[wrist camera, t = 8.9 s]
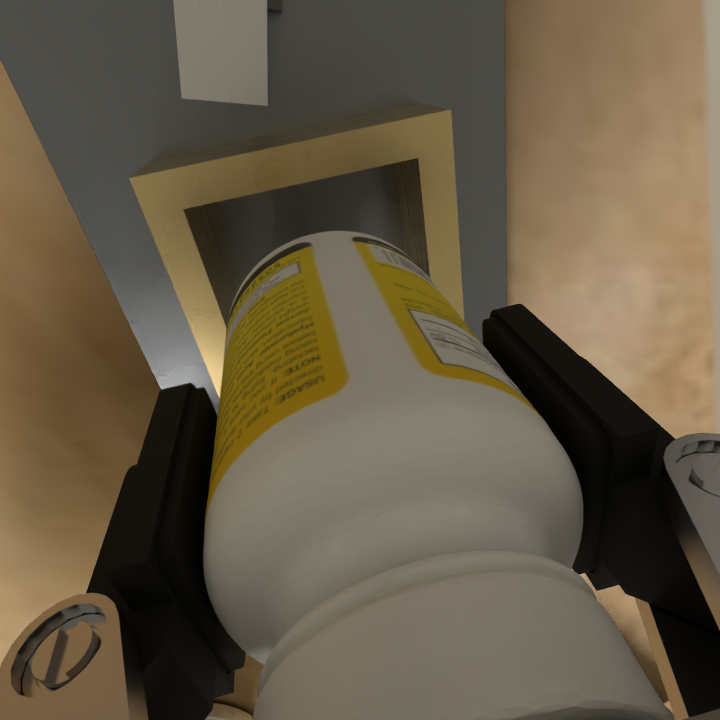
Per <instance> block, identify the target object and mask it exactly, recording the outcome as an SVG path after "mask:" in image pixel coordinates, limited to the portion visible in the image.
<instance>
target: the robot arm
mask: <svg viewBox="0 0 720 720" xmlns="http://www.w3.org/2000/svg"><path fill="white" fill-rule="evenodd" d="M482 336H483V346H484V347H485V348H486V349H487V350H488V351H489V353H490V354H491V355H492V357H493V358H494V359H495V360H496V361H497V363H498V364H499V365H500V367H501V368H502V369H503V370H504V372H505V373H506V374H507V376H508V377H509V378H510V379H511V380H512V381H513V383H514V384H515V385H516V386H517V387H518V388H519V390H520V391H521V392H522V394H523V395H524V396H525V398H526V399H527V400H528V401H529V402H530V403H531V405H532V406H533V408H534V409H535V410H536V411H537V412H538V413H539V414H540V416H541V417H542V418H543V419H544V420H545V422H546V423H547V425H548V426H549V428H550V430H551V431H552V432H553V434H554V435H555V437H556V438H557V440H558V441H559V443H560V444H561V445H562V447H563V448H564V450H565V451H566V453H567V454H568V456H569V458H570V460H571V462H572V464H573V466H574V468H575V471H576V474H577V477H578V480H579V483H580V486H581V491H582V497H583V529H582V536H581V541H580V545H579V549H578V552H577V555H576V558H575V561H574V563H573V566H572V569H573V570H574V571H575V572H576V573H577V574H582V573H586V575H587V577H588V578H589V580H590V581H591V583H592V584H593V586H594V587H595V589H596V590H597V591H598V590H601V589H605V588H609V587H612V586H616V585H620V587H621V588H622V589H623V591H624V592H625V594H628V595H630V596H633V597H635V599H636V603H637V606H638V609H639V612H640V615H641V618H642V621H643V624H644V627H645V630H646V633H647V636H648V639H649V642H650V645H651V648H652V651H653V654H654V657H655V660H656V663H657V666H658V669H659V672H660V675H661V678H662V681H663V684H664V687H665V690H666V693H667V696H668V699H669V702H670V705H671V708H672V711H673V714H674V717H675V720H720V434H711V433H697V434H690V435H685V436H683V437H680V438H678V439H675V438H674V437H672V436H671V435H670V434H669V433H668V432H667V431H666V430H665V429H663V428H662V427H661V426H660V425H659V424H658V423H657V422H656V421H654V420H653V419H652V418H651V417H650V416H649V415H648V414H647V413H645V412H644V411H643V410H642V409H641V408H640V407H639V406H638V405H637V404H635V403H634V402H633V401H632V400H631V399H630V398H629V397H628V396H626V395H625V394H624V393H623V392H622V391H621V390H620V389H619V388H617V387H616V386H615V385H614V384H613V383H612V382H611V381H610V380H608V379H607V378H606V377H605V376H604V375H603V374H602V373H601V372H599V371H598V370H597V369H596V368H595V367H594V366H593V365H592V364H590V363H589V362H588V361H587V360H586V359H584V358H583V357H581V356H579V355H578V354H577V353H576V352H575V351H574V350H572V349H571V348H570V347H569V346H568V345H567V344H566V343H565V342H564V341H562V340H561V339H560V338H559V337H558V336H557V335H556V334H555V333H553V332H552V331H551V330H550V329H549V328H548V327H547V326H546V325H545V324H543V323H542V322H541V321H540V320H539V319H538V318H537V317H536V316H535V315H533V314H532V313H531V312H530V311H529V310H528V309H527V308H526V307H525V306H523V305H522V304H516V305H512V306H507V307H503V308H499V309H495V310H492V311H491V313H490V318H488V319H484V320H483V323H482ZM216 425H217V414H216V411H215V409H214V407H213V404H212V402H211V400H210V397H209V395H208V393H207V391H206V389H205V388H204V387H202V388H198V389H196V387H195V386H194V385H193V384H192V383H187V384H183V385H179V386H174V387H170V388H166V389H162V390H161V391H160V393H159V396H158V399H157V402H156V405H155V408H154V412H153V415H152V418H151V421H150V424H149V427H148V431H147V434H146V437H145V440H144V443H143V447H142V450H141V453H140V456H139V459H138V463H137V465H133V466H132V467H131V468H129V469H128V471H127V473H126V475H125V478H124V481H123V484H122V487H121V490H120V493H119V496H118V499H117V502H116V505H115V508H114V511H113V514H112V517H111V520H110V523H109V526H108V529H107V532H106V535H105V538H104V541H103V544H102V547H101V550H100V553H99V556H98V559H97V562H96V565H95V568H94V571H93V574H92V577H91V580H90V583H89V586H88V589H87V592H86V594H79V595H75V596H73V597H70V598H68V599H65V600H63V601H60V602H59V603H57V604H56V605H54V606H52V607H51V608H49V609H48V610H46V611H44V612H43V613H42V614H41V615H39V616H38V617H37V618H36V619H35V620H34V621H33V622H32V623H30V624H29V625H28V626H27V627H26V628H25V629H24V631H23V632H22V633H21V634H20V635H19V637H18V638H17V639H16V640H15V641H14V643H13V644H12V645H11V647H10V649H9V651H8V653H7V654H6V656H5V658H4V660H3V661H2V663H1V667H0V720H253V717H252V716H251V715H250V714H249V713H247V712H245V711H242V710H240V709H238V708H235V707H232V706H228V705H225V704H218V703H213V701H214V698H215V697H218V696H222V695H225V694H229V693H233V692H234V674H235V669H239V668H242V667H243V666H244V662H245V651H244V650H242V649H241V648H240V646H239V645H238V644H237V643H236V642H235V641H234V640H233V639H232V638H231V637H230V636H229V634H228V633H227V631H226V630H225V628H224V627H223V625H222V623H221V622H220V620H219V618H218V616H217V615H216V613H215V611H214V608H213V606H212V604H211V601H210V599H209V595H208V592H207V588H206V583H205V578H204V568H203V548H204V528H205V513H206V507H207V500H208V494H209V482H210V475H211V469H212V459H213V453H214V441H215V434H216Z"/></svg>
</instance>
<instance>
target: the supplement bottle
mask: <svg viewBox="0 0 720 720" xmlns="http://www.w3.org/2000/svg"><path fill="white" fill-rule="evenodd" d="M582 529H583V497H582V491H581V486H580V483H579V480H578V477H577V474H576V471H575V468H574V466H573V464H572V462H571V460H570V458H569V456H568V454H567V453H566V451H565V450H564V448H563V447H562V445H561V444H560V443H559V441H558V440H557V438H556V437H555V435H554V434H553V432H552V431H551V430H550V428H549V426H548V425H547V423H546V422H545V420H544V419H543V418H542V417H541V416H540V414H539V413H538V412H537V411H536V410H535V409H534V408H533V406H532V405H531V403H530V402H529V401H528V400H527V399H526V398H525V396H524V395H523V394H522V392H521V391H520V390H519V388H518V387H517V386H516V385H515V384H514V383H513V381H512V380H511V379H510V378H509V377H508V376H507V374H506V373H505V372H504V370H503V369H502V368H501V367H500V365H499V364H498V363H497V361H496V360H495V359H494V358H493V357H492V355H491V354H490V353H489V351H488V350H487V349H486V348H485V347H484V346H483V344H482V343H481V342H480V341H479V339H478V338H477V337H476V336H475V334H474V333H473V332H472V331H471V329H470V328H469V327H468V326H467V324H466V323H465V322H464V321H463V320H462V318H461V317H460V316H459V315H458V313H457V312H456V311H455V309H454V308H453V307H452V306H451V304H450V303H449V302H448V301H447V299H446V298H445V297H444V295H443V294H442V293H441V292H440V291H439V289H438V288H437V287H436V286H435V284H434V283H433V282H432V280H431V279H430V278H429V277H428V276H427V275H426V273H425V272H424V271H423V270H422V269H421V268H420V266H419V265H418V264H417V263H416V262H415V261H414V260H412V259H411V258H410V257H409V256H408V255H407V254H405V253H404V252H403V251H402V250H400V249H399V248H397V247H395V246H394V245H392V244H390V243H388V242H386V241H384V240H382V239H380V238H377V237H374V236H371V235H367V234H364V233H358V232H350V231H327V232H321V233H315V234H311V235H307V236H303V237H300V238H298V239H295V240H293V241H291V242H288V243H286V244H284V245H283V246H281V247H279V248H277V249H276V250H274V251H273V252H271V253H270V254H269V255H267V256H266V257H265V258H264V259H262V260H261V261H260V262H259V263H258V264H257V265H256V266H255V267H254V268H253V269H252V271H251V272H250V273H249V274H248V275H247V277H246V278H245V280H244V281H243V283H242V284H241V286H240V288H239V290H238V292H237V294H236V296H235V299H234V301H233V304H232V307H231V310H230V314H229V319H228V324H227V330H226V339H225V349H224V361H223V373H222V382H221V391H220V400H219V409H218V416H217V425H216V434H215V441H214V453H213V459H212V469H211V475H210V482H209V494H208V500H207V507H206V513H205V528H204V548H203V568H204V578H205V583H206V588H207V592H208V595H209V599H210V601H211V604H212V606H213V608H214V611H215V613H216V615H217V616H218V618H219V620H220V622H221V623H222V625H223V627H224V628H225V630H226V631H227V633H228V634H229V636H230V637H231V638H232V639H233V640H234V641H235V642H236V643H237V644H238V645H239V646H240V648H241V649H242V650H244V651H245V652H246V653H247V654H248V655H249V656H251V657H252V658H254V659H255V660H257V661H258V662H260V663H261V664H263V665H264V667H263V670H262V672H261V676H260V679H259V684H258V691H257V697H258V699H257V701H256V704H255V708H254V713H253V720H672V718H671V716H670V714H669V712H668V711H667V709H666V707H665V705H664V703H663V702H662V700H661V698H660V697H659V695H658V694H657V692H656V690H655V689H654V687H653V686H652V684H651V683H650V681H649V679H648V678H647V676H646V674H645V673H644V671H643V669H642V668H641V666H640V664H639V663H638V661H637V659H636V658H635V656H634V654H633V653H632V651H631V649H630V648H629V646H628V644H627V643H626V641H625V639H624V638H623V636H622V634H621V633H620V631H619V630H618V628H617V626H616V625H615V623H614V622H613V620H612V619H611V617H610V616H609V614H608V613H607V611H606V610H605V608H604V607H603V606H602V605H601V604H600V603H599V602H598V601H597V600H596V597H595V595H594V593H593V591H592V589H591V588H590V586H589V585H588V584H587V583H586V582H585V581H584V579H583V578H582V577H581V576H580V575H579V574H577V573H576V572H575V571H573V570H571V568H572V566H573V563H574V561H575V558H576V555H577V552H578V549H579V545H580V541H581V536H582Z"/></svg>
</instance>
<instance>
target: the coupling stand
mask: <svg viewBox="0 0 720 720" xmlns="http://www.w3.org/2000/svg"><path fill="white" fill-rule="evenodd" d="M0 60H1V62H2V64H3V66H4V68H5V70H6V72H7V74H8V76H9V78H10V80H11V82H12V84H13V86H14V88H15V90H16V92H17V95H18V97H19V99H20V101H21V103H22V105H23V107H24V109H25V111H26V113H27V115H28V117H29V119H30V121H31V123H32V125H33V127H34V129H35V132H36V134H37V136H38V138H39V140H40V142H41V144H42V146H43V148H44V150H45V152H46V154H47V156H48V158H49V160H50V162H51V164H52V166H53V168H54V171H55V173H56V175H57V177H58V179H59V181H60V183H61V185H62V187H63V189H64V191H65V193H66V195H67V197H68V199H69V201H70V203H71V205H72V208H73V210H74V212H75V214H76V216H77V218H78V220H79V222H80V224H81V226H82V228H83V230H84V232H85V234H86V236H87V238H88V240H89V242H90V245H91V247H92V249H93V251H94V253H95V255H96V257H97V259H98V261H99V263H100V265H101V267H102V269H103V271H104V273H105V275H106V277H107V279H108V281H109V284H110V286H111V288H112V290H113V292H114V294H115V296H116V298H117V300H118V302H119V304H120V306H121V308H122V310H123V312H124V314H125V316H126V318H127V321H128V323H129V325H130V327H131V329H132V331H133V333H134V335H135V337H136V339H137V341H138V343H139V345H140V347H141V349H142V351H143V353H144V355H145V357H146V360H147V362H148V364H149V366H150V368H151V370H152V372H153V374H154V376H155V378H156V380H157V382H158V384H159V386H160V388H161V390H162V389H166V388H170V387H174V386H179V385H183V384H187V383H192V384H193V385H194V386H195V387H196V389H198V388H202V387H204V388H205V389H206V391H207V393H208V395H209V397H210V400H211V402H212V404H213V407H214V409H215V411H216V414H217V416H218V409H219V400H220V391H221V382H222V373H223V361H224V349H225V339H226V330H227V324H228V319H229V314H230V310H231V307H232V304H233V301H234V299H235V296H236V294H237V292H238V290H239V288H240V286H241V284H242V283H243V281H244V280H245V278H246V277H247V275H248V274H249V273H250V272H251V271H252V269H253V268H254V267H255V266H256V265H257V264H258V263H259V262H260V261H261V260H262V259H264V258H265V257H266V256H267V255H269V254H270V253H271V252H273V251H274V250H276V249H277V248H279V247H281V246H283V245H284V244H286V243H288V242H291V241H293V240H295V239H298V238H300V237H303V236H307V235H311V234H315V233H321V232H327V231H350V232H358V233H364V234H367V235H371V236H374V237H377V238H380V239H382V240H384V241H386V242H388V243H390V244H392V245H394V246H395V247H397V248H399V249H400V250H402V251H403V252H404V253H405V254H407V255H408V256H409V257H410V258H411V259H412V260H414V261H415V262H416V263H417V264H418V265H419V266H420V268H421V269H422V270H423V271H424V272H425V273H426V275H427V276H428V277H429V278H430V279H431V280H432V282H433V283H434V284H435V286H436V287H437V288H438V289H439V291H440V292H441V293H442V294H443V295H444V297H445V298H446V299H447V301H448V302H449V303H450V304H451V306H452V307H453V308H454V309H455V311H456V312H457V313H458V315H459V316H460V317H461V318H462V320H463V321H464V322H465V323H466V324H467V326H468V327H469V328H470V329H471V331H472V332H473V333H474V334H475V336H476V337H477V338H478V339H479V341H480V342H481V343H482V344H483V336H482V323H483V320H484V319H488V318H490V313H491V311H492V310H495V309H499V308H503V307H507V277H506V159H505V42H504V0H0Z"/></svg>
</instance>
